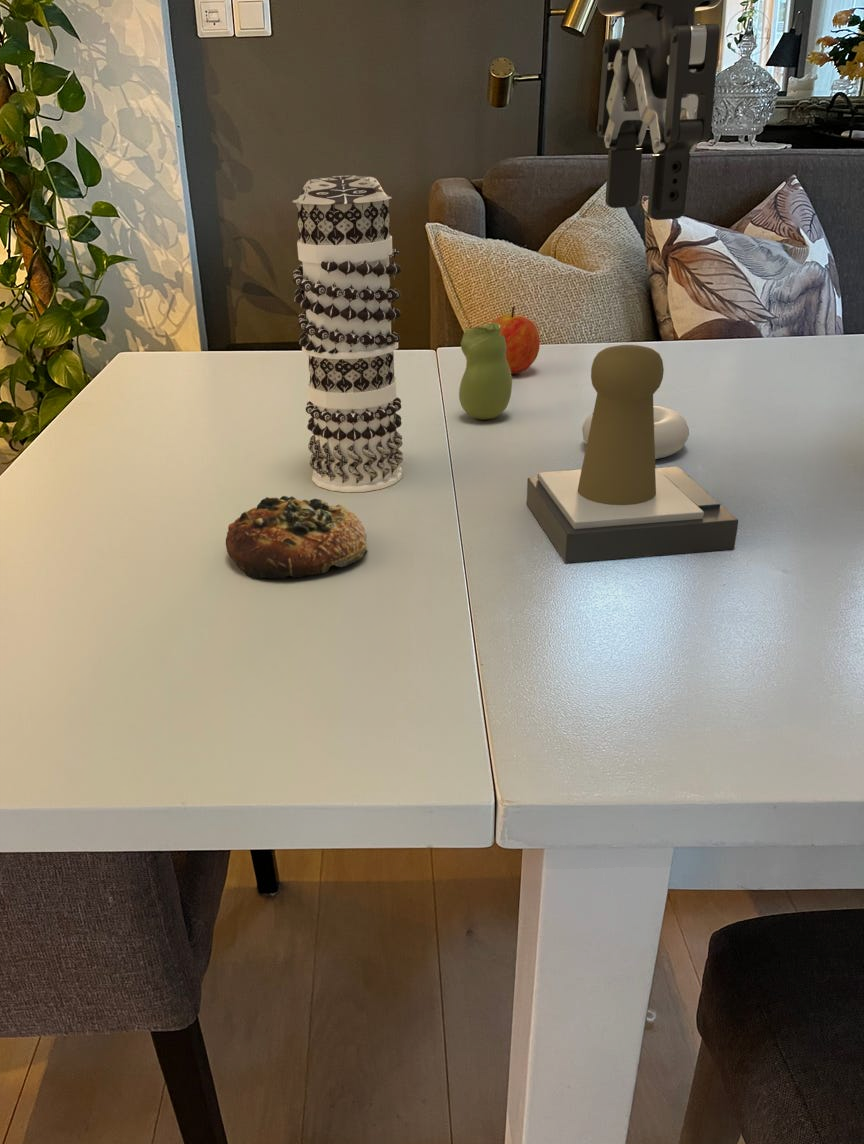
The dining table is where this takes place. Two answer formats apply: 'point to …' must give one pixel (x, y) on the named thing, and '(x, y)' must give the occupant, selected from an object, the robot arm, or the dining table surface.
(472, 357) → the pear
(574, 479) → the scale
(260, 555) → the bread roll
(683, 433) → the donut
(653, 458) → the olive game pawn
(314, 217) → the decorative candle
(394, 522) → the dining table surface
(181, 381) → the dining table surface
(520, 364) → the fruit
